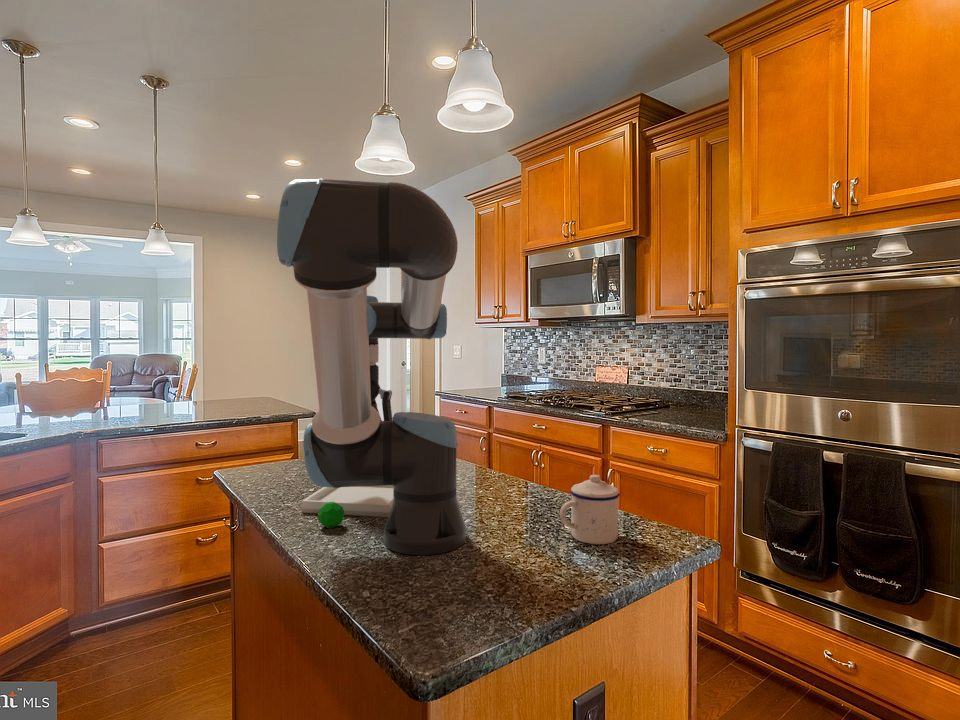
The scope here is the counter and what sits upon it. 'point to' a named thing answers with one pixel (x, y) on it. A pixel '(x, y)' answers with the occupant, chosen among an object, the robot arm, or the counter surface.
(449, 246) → the robot arm
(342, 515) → the polyhedron
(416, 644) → the counter surface
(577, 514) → the teacup with lid
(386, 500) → the tray
